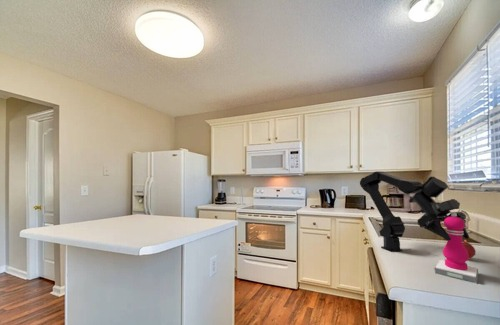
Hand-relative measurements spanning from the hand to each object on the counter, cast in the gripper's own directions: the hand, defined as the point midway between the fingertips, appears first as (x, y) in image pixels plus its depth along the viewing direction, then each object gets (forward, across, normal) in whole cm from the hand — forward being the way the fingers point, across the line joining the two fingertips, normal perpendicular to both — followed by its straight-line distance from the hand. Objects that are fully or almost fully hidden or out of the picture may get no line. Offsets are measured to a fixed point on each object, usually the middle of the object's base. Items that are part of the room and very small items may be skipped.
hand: (459, 239), depth 84 cm
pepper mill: (+6, 0, +9) cm, 11 cm away
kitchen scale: (+8, 0, +10) cm, 13 cm away
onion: (+2, +20, +17) cm, 26 cm away
